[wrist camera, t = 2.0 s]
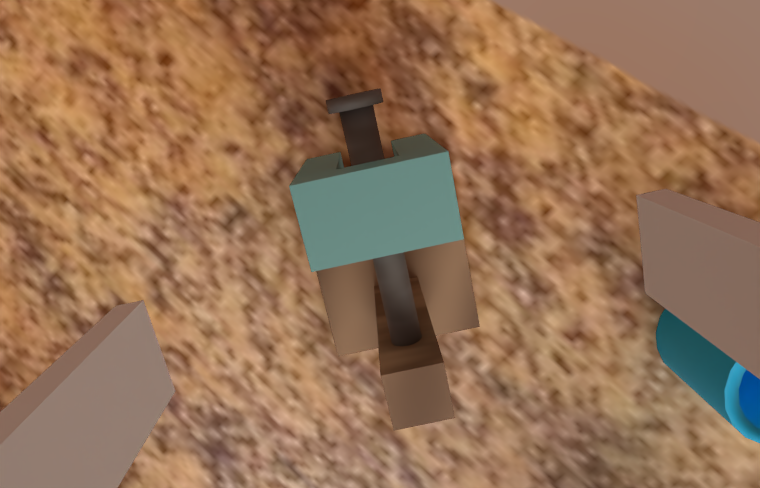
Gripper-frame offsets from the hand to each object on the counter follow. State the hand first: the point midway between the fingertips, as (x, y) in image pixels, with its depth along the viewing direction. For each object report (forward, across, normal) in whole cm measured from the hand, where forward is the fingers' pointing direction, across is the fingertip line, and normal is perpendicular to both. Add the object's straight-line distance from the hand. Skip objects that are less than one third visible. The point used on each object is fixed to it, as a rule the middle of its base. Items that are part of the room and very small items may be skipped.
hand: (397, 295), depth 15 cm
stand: (+24, 0, -4) cm, 24 cm away
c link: (+20, 0, 0) cm, 20 cm away
